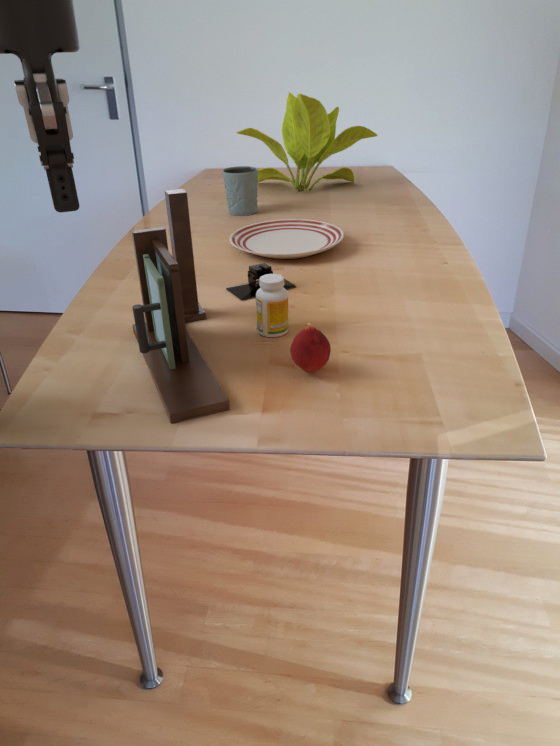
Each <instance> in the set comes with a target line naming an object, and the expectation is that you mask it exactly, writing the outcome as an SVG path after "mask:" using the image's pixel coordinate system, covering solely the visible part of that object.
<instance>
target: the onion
mask: <svg viewBox="0 0 560 746" xmlns="http://www.w3.org/2000/svg"><path fill="white" fill-rule="evenodd" d="M289 352H290V356H291V359H292V362H293V363H294V364H295V365H297V367H298V368H300V369H301V370H303V371H304V372H306V373H308V374H311V373H315V372H316V371H319V370H320V369H322V368H323V367H325V365H327V363H328V362H329V360H330V357H331V352H332V349H331V343H330V341H329V340H328V337H327V336H326V335H325V334H324V333H323V332H322V331H321V330H320V329H317V327H315V326H314V325H313V324H312V323H311V322H306V325H305V328H303V329H302V330H300V331H298V333H297V334H296V335H295V336H294V337H293V339H292V341H291V344H290V348H289Z"/></svg>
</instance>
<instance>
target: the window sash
mask: <svg viewBox="0 0 560 746" xmlns="http://www.w3.org/2000/svg"><path fill="white" fill-rule="evenodd" d="M143 259H144V266H145V272H146V279H147V285H148V292H149V299H150V304H147V305H143V304H134V305H133V306H132V307H131V308H132V313H133V319H134V324H135V326H136V332H137V338H138V342H137V344H138V343H139V344H138V349H139V353H141V354H142V353H148V352H149V351H151V350H156V349H161V350H162V352H163V354H164V356H165V358H166V360H167V362H168V364H169V368H170V369H175V368H176V367H175V360H174V352H173V345H172V337H171V330H170V322H169V315H168V308H167V300H166V293H165V285H164V278H163V277H162V276H161V275H160V274H159V272H158V271H157V269H156V267H155V266H154V264H153V263H152V261H151V260H150V257H149V255H148V254H144V255H143ZM148 311H151V312H152V318H153V325H154V332H155V338H156V340H157V341H158V342H154V343H149V342H148V336H147V329H146V323H145V322H146V320H145V314H144V312H148Z"/></svg>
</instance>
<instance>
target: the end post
mask: <svg viewBox="0 0 560 746" xmlns="http://www.w3.org/2000/svg"><path fill="white" fill-rule="evenodd" d="M164 198H165V207H166V215H167V222H168V223H167V224H168V230H169V239H170V247H171V255H172V257H173V258H174V259H175V261H176V262H177V263H178V268H179V276H180V285H181V293H182V302H183V310H184V318H185V324H186V323H190V322H196V321H201V320H206V319H207V312H206V311H205V310H204V308H203V306H202V305H201V304H200V303H199V296H198V288H197V275H196V266H195V261H194V260H195V257H194V249H193V247H194V246H193V237H192V228H191V218H190V217H191V216H190V209H189V198H188V192H187V191H186V190H185V189H184V188H177V189H176V188H175V189H167V190H164Z"/></svg>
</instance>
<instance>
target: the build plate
mask: <svg viewBox="0 0 560 746" xmlns="http://www.w3.org/2000/svg"><path fill="white" fill-rule="evenodd" d="M272 268H273V267H272V266H271V265H269V264H267V263H266V262H261V263H258V264H252V265H249V266H248V270H247V275H246V276H247V282H243V283H239V284H235V285H231V286H227V287H226V288H225V290H226V291H228V292H229V293H230V294H232V295H233V296H235V297H236V298H238V299H239V300H240V301H246V300H251V299H253V298H254V299H256V292H257V290H258V289H259V288H260V285H259V284H260V277H261V276H263V275H266V274H274V271H273V269H272ZM296 287H297V285H296V284H294V283H293V282H291V281H289V280H288V279H285V278H284V286H283V288H285V289H286V290H287V291H288V290H291V289H294V288H296Z"/></svg>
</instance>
